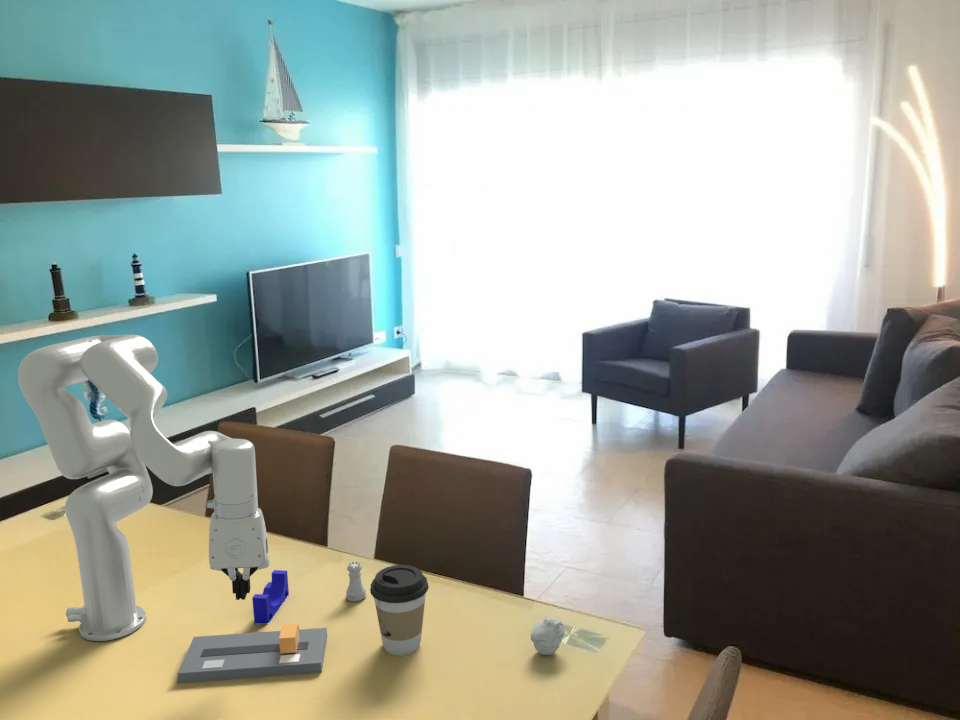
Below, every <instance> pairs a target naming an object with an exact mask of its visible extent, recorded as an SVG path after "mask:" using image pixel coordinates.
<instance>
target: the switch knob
mask: <svg viewBox="0 0 960 720" xmlns="http://www.w3.org/2000/svg"><path fill="white" fill-rule="evenodd" d="M299 629H300V625H299V622H293V623H283V624H282V625H281V630H280V631H281V633H280V637H279V645H280V654H282V653H296V651H297V647H298V642H299Z"/></svg>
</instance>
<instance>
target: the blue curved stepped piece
mask: <svg viewBox="0 0 960 720" xmlns="http://www.w3.org/2000/svg"><path fill="white" fill-rule="evenodd" d="M288 577H289V576H288V570H281V569H274V570H273V571H272V572H271V581H268V582H267V583H266V585H265V586H264V587H263V591H262V593H254V595H253V597H251V598H252V599H251V600H252V609H253V610H252V611H253V623H254V624H260V623H269V624H270V623H271V621H272V619H273V616H274V617H275V615H276V614H275V613H277V612H279V609H280V608H281V607H282V605H283V604H284V603H285V601H286V600H285V599H287V598H288V597H289V595H290V594H289V593H290V589H289V579H288ZM287 596H288V597H287ZM282 603H283V604H282ZM280 606H281V607H280Z"/></svg>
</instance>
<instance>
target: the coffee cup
mask: <svg viewBox="0 0 960 720" xmlns="http://www.w3.org/2000/svg"><path fill="white" fill-rule="evenodd" d="M369 591H370V594H371V596H372V597H373V598H374V605H375V610H376V616H377V621H378V627H379V631H380V637H381V642H382V645H383V647H384V650H385V652H386V653H388V654H390V655H393V656H398V657H400V656H408V655H410V654H411V655H412V654H413V653H415V652H416V651H417V650H418V649H419V648H420V644H421V641H422V633H423V623H424V615H425V614H424V613H425V604H426V594H427V592H428V591H429V583H428V578H427V576H425V575H424V574H423V572H422V571H421V569H420V568H418V567H416V566H413V565H408V564H396V565H391V566H387V567H384V568H382V569H381V570H379V571H378V572H377V573H376V575H375V577H374V578H373V579H372V581H371V583H370V588H369Z"/></svg>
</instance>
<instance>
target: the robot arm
mask: <svg viewBox="0 0 960 720" xmlns="http://www.w3.org/2000/svg"><path fill="white" fill-rule="evenodd" d="M158 363H159V355H158V352H157V349H156V347H155V345H154V344H152V342H151V341H150V340H149V339H147V338H145V337H144V336H141V335H138V334H113V335H112V334H111V335H108V334H107V335H106V334H105V335H104V334H103V335H93V336H88V337H82V338H77V339H74V340H69V341H64V342H57V343H54V344H50V345H49V344H48V345H46V346H42V347H40V348H37V349H35V350H33V351H31V352H29V353H28V354H27V355H25V357H24V358H23V359H22V360H21V362H20V363H19V366H18V371H17V372H18V373H17V379H18V385H19V388H20V392H21V394H22V395H23V397H24V399H25V401H26V403H27V404H28V405H29V407H30V408H31V409H32V411H33V414H35V416H36V418H37V419H38V422H39V424H40V429H41V431H42V433H43V436H44V438H45V441H46V442H47V445H48V448H49V452H50V454H51V456H52V458H53V461H54V462H55V465H56V468H57V469H58V471H59V472H60V474H61V475H62V476H63V477H64V478H66V479H69V480H79V479H82V478H85V477H88V476H90V475H93V474H95V473H98V472H100V471H103V470H105V469H106V470H107V471H108V473H109V474H107V475H104V476H101V477H98V478H96V479H94V480H91V481H89V482H87V483H85V484H83V485H80V486H79V487H78V488H76V489H74V490H73V491H72V492H71V493H70V494H69V496H68V497H67V498H66V501H65V503H64V504H65V505H64V512H65V516H66V518H67V522H68V524H69V527H70V529H71V533H72V535H73V536H72V537H73V540H74V543H75V548H76V554H77V555H76V556H77V561H78V568H79V575H80V582H81V590H82V596H83V604H84V605H82V606H81V607H75V606H72V607H67V608H66V611H65V616H66V617H67V623H71V622H72V623H73V622H74V623H76V622H79V623H80V624H79V628H78V630H79V635H80V636H81V638H83V639H84V640H88V641H92V642H107V641H113V640H117V639H119V638H123V637H125V636H127V635H130V634H132V633H133V632H135V631H137V630H138V629H139V628H140V627H141V626H143V625H144V623H145V622H146V617H147V615H146V611H145V609H144V608H142V607H141V606H138V605H137V601H136V593H135V585H134V577H133V568H132V560H131V553H130V546H129V541H128V538H127V537H126V535H125V534H124V533H123V532H122V531H121V530H120V529H119V528H118V526H117V523H118V522H120V521H121V520H123V519H125V518H127V517H129V516H131V515H133V514H135V513H137V512H138V511H140V510H142V509H144V508H146V506H148V505H149V504H150V502H151V500H152V498H153V492H154V490H153V485H152V484H153V483H152V480H151V477H150V475H149V472H148V469H149V471H151V472H152V474H154V475H155V477H157V478H158V479H159V480H161V481H162V482H164V483H165V484H168V485H170V486H173V487H181V486H186V485H188V484H190V483H192V482H194V481H196V480H198V479H200V478H203V477H204V476H206V475H210V474H212V479H213V492H214V493H213V494H214V495H213V496H214V497H213V499H211V500H207V502H206V508H207V509H213V511H214V512H213V513H212V514H211V516H210V521H209V529H208V562H209V569H210V570H213V571H219V572H220V571H221V572H222V573H224V574H225V575H226V576H227V577H228V578H229V580H230V581H231V587H232V594H233V595H235V600H236V601H239V600H243V601H244V600H246V598H247V595H248V594H250V592H251V576H252V575H253V574H254V573H256V571H258V570H263V569H267V568H269V566H270V563H271V562H270V559H269V556H268V553H269V542H268V534H267V528H266V522H265V519H264V514H263V511H262V509H261V507H259V503H258V501H259V500H258V484H257V483H258V482H257V479H258V478H257V466H256V465H257V463H256V450H255V445H254V444H253V442H252V441H250V440H248V439H245V438H232V437H230V436H227V435H225V434H223V433H221V432H219V431H215V430H205V431H202V432H200V433H197V434H195V435H192V436H190V437H188V438H185V439H183V440H180V441H177V442H176V443H172V442H171V441H170V440H169V439H167V438H166V437H165V435H163V434H162V433H161V431H160V430H159V429H158V427H157V426H156V423H155V420H154V417H155V416H156V415H157V414H158V413H159V412H160V410H161V409H162V408H163V406H164V405H165V403H166V400H167V399H168V391H167V389H166V387H165V386H164V385H163V384H162V383H161V382H159V380H157V379H156V378H155V377H154V376H153V375H152V374H151V373H152V372H154V370H155V369H156V367H157V365H158ZM87 381H90V382H91V384H93V385H94V386H95V387H96V388H97V389H98V390H99V391H100V392H101V393H102V395H104V396H105V397H106V398H107V399H108V400H109V401H110V402H111V403H112V404H113V405H115V407H116V408H117V409H118V410H119V411H120V412H121V413H122V414H123V415H124V416H125V417H126V418H127V419H128V421H129V428H128V427H127V425H125V424H124V423H123V422H121V421H119V420H116V419H103V420H100V421H98V422H95V423H92V422H91V419H90V416H89V415H88V412H87V408H86V407H85V405H84V404H83V402H82V401H81V400H80V399H79V398H78V397H77V396H76V395H75V394H73V392H70V391H69V390H67V389H66V388H67V387H69V386H72V385H75V384H81V383H83V382H87ZM147 468H148V469H147ZM240 569H243V570H242V572H240Z"/></svg>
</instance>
